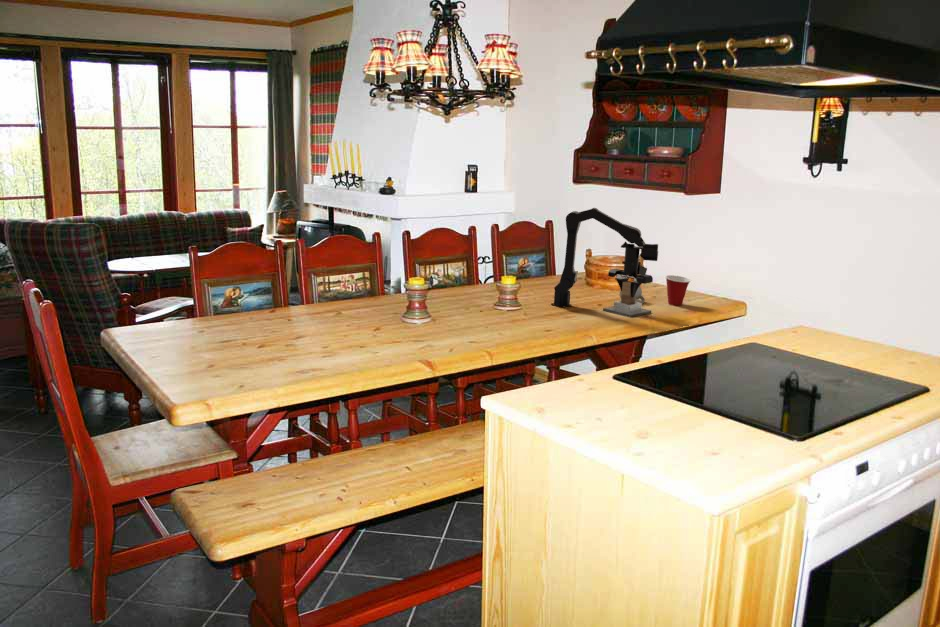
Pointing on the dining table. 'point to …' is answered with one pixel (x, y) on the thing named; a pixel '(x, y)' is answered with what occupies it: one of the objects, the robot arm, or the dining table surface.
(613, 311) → the metal square socket base
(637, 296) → the ceramic mug
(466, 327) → the dining table surface
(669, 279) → the plastic cup
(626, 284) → the walnut post
